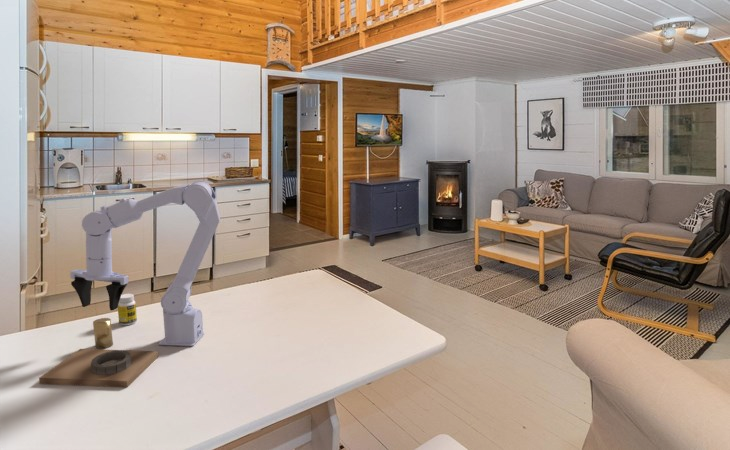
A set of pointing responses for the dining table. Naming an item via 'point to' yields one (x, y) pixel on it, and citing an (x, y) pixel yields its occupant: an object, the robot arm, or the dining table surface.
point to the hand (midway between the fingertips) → (100, 307)
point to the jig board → (100, 368)
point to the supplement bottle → (127, 310)
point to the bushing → (103, 333)
